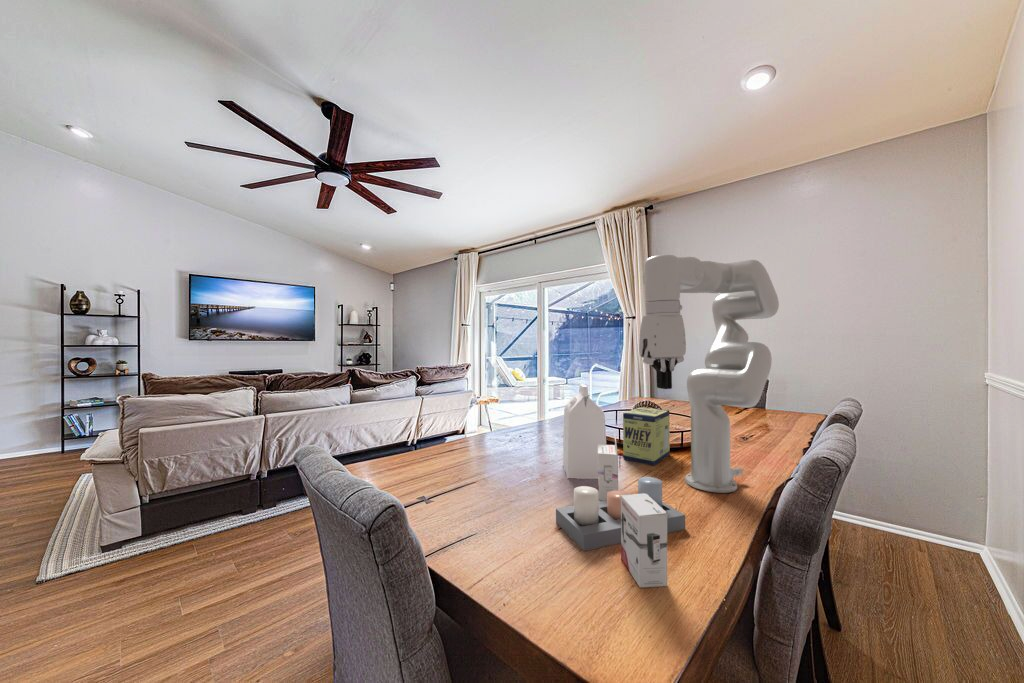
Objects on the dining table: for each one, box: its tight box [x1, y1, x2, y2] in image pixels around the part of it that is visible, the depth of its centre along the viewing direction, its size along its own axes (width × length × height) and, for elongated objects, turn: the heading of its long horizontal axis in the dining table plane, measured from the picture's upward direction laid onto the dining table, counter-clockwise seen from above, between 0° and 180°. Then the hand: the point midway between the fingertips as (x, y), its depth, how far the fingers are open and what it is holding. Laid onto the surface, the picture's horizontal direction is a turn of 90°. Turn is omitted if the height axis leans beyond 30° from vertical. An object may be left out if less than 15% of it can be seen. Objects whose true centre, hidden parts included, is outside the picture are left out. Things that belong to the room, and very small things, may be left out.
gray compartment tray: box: [555, 500, 686, 552], centre depth 80 cm, size 24×12×3 cm, turn 109°
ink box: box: [620, 493, 668, 588], centre depth 64 cm, size 9×5×12 cm, turn 5°
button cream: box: [573, 485, 599, 526], centre depth 77 cm, size 5×5×6 cm
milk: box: [562, 383, 607, 480], centre depth 114 cm, size 12×12×26 cm
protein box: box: [622, 406, 671, 466], centre depth 127 cm, size 10×16×16 cm
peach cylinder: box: [607, 490, 630, 520], centre depth 80 cm, size 5×5×6 cm
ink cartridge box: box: [597, 434, 619, 501], centre depth 97 cm, size 9×5×15 cm, turn 168°
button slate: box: [637, 476, 663, 508], centre depth 83 cm, size 5×5×6 cm
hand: (664, 388), depth 88 cm, fingers closed
